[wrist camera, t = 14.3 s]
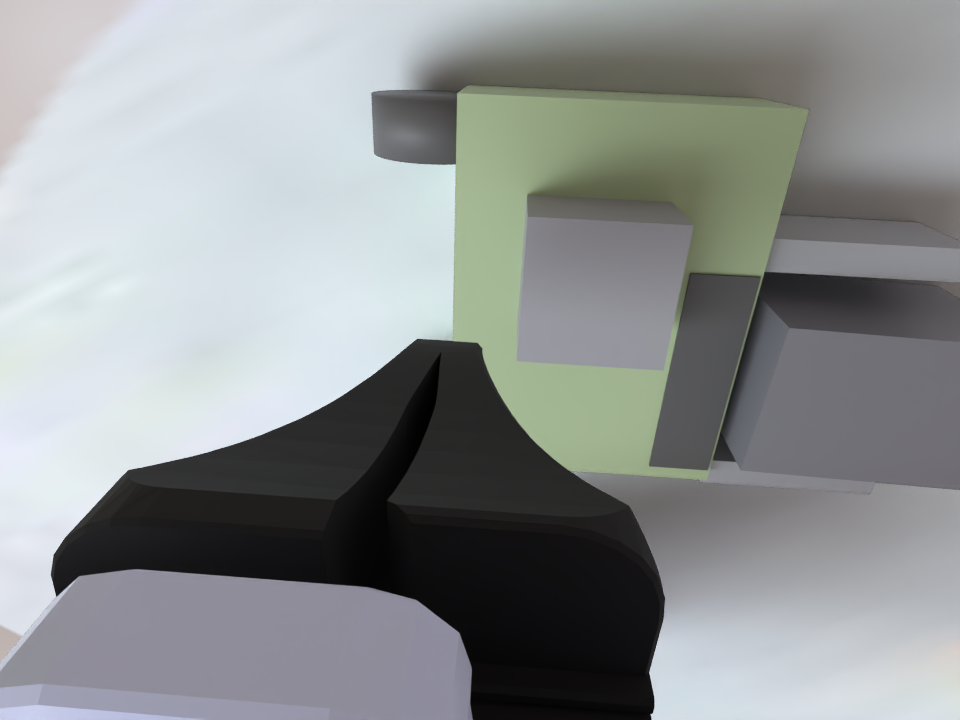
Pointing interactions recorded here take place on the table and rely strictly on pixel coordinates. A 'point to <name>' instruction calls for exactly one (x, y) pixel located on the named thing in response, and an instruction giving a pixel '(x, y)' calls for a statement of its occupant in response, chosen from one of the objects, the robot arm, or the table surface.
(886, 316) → the grey block
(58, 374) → the table surface
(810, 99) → the table surface
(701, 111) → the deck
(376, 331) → the table surface
